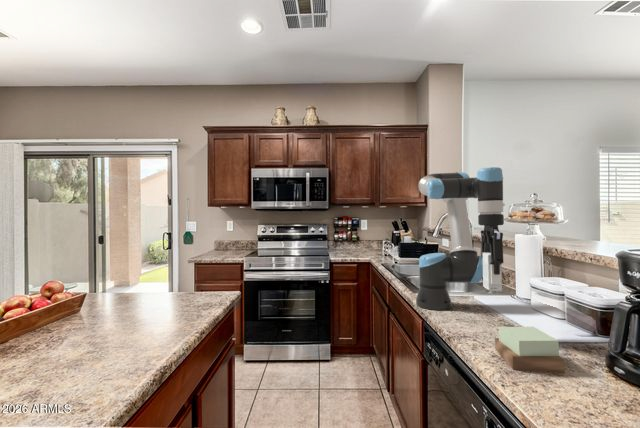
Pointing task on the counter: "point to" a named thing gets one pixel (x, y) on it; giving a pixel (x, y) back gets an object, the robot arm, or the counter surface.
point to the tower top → (528, 341)
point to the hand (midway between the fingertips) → (492, 281)
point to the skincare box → (489, 274)
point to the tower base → (530, 360)
